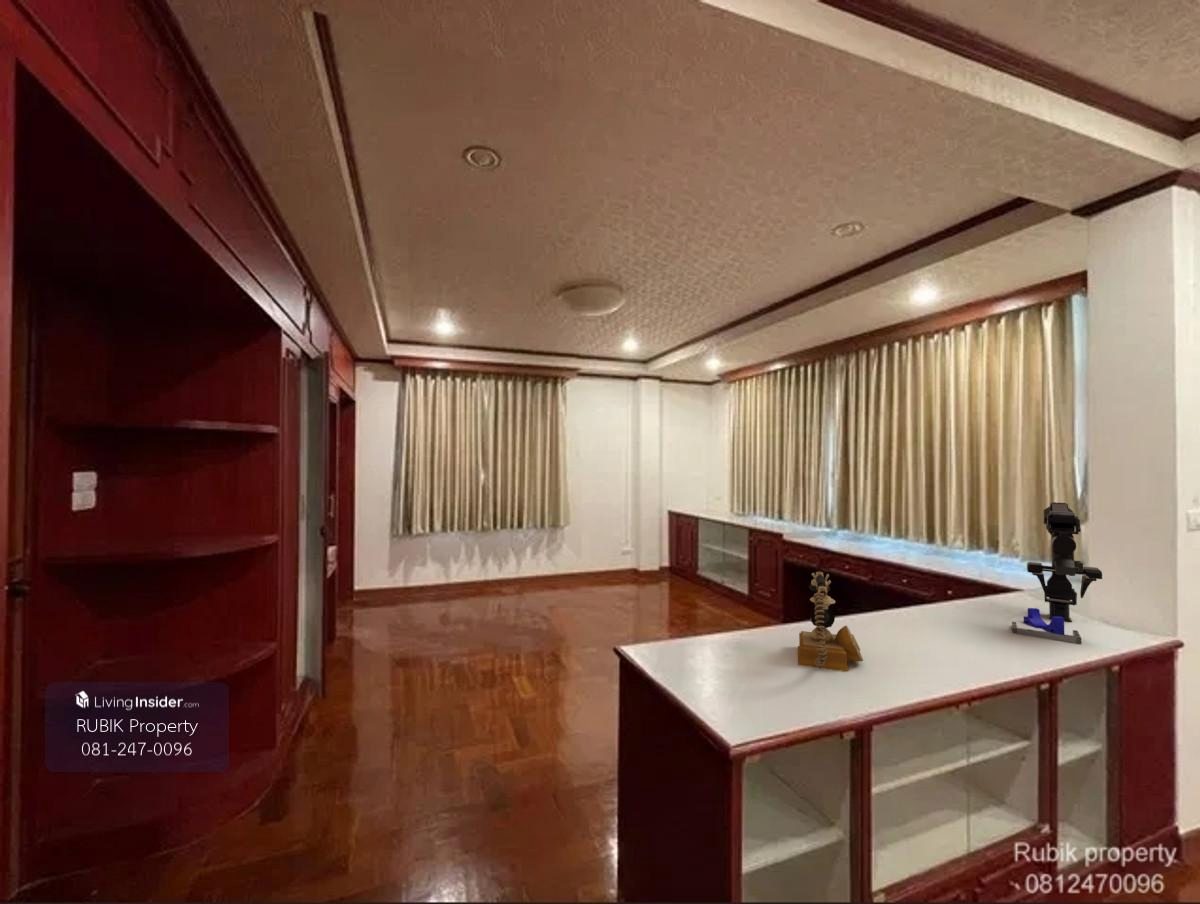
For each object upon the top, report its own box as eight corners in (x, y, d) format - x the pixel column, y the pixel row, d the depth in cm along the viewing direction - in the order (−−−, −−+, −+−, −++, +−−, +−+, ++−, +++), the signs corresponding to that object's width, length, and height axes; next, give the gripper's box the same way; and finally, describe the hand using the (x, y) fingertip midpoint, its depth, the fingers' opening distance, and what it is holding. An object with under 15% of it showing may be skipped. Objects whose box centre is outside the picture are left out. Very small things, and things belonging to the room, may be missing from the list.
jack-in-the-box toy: (873, 698, 132) (872, 597, 133) (797, 687, 138) (797, 591, 139) (858, 650, 165) (857, 570, 166) (797, 643, 172) (797, 566, 172)
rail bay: (1011, 627, 188) (1011, 621, 188) (1077, 637, 178) (1077, 630, 178) (1012, 634, 181) (1012, 627, 181) (1081, 644, 171) (1081, 637, 171)
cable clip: (1023, 624, 192) (1023, 608, 193) (1036, 624, 192) (1036, 608, 192) (1050, 635, 180) (1050, 617, 181) (1064, 635, 180) (1064, 617, 180)
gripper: (1028, 550, 177) (1029, 597, 177) (1105, 556, 166) (1105, 606, 166) (1026, 545, 186) (1027, 590, 186) (1098, 550, 175) (1099, 597, 175)
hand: (1063, 595), depth 178 cm, fingers open, 9 cm apart
